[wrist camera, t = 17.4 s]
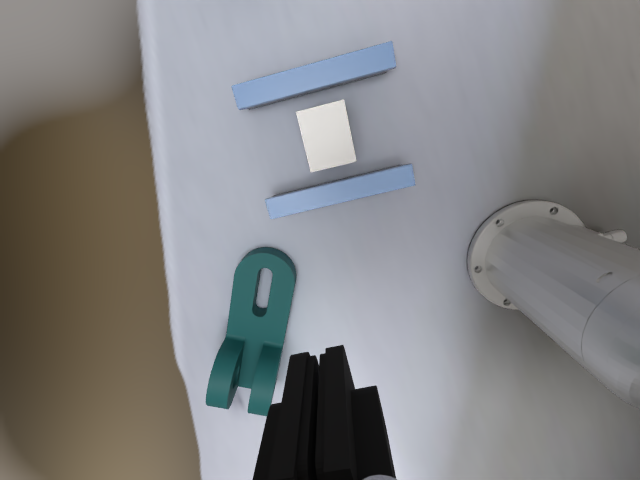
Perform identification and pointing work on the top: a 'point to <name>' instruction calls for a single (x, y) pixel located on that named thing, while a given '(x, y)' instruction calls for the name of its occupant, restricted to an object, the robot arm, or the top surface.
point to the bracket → (253, 333)
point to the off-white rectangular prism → (326, 136)
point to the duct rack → (315, 80)
